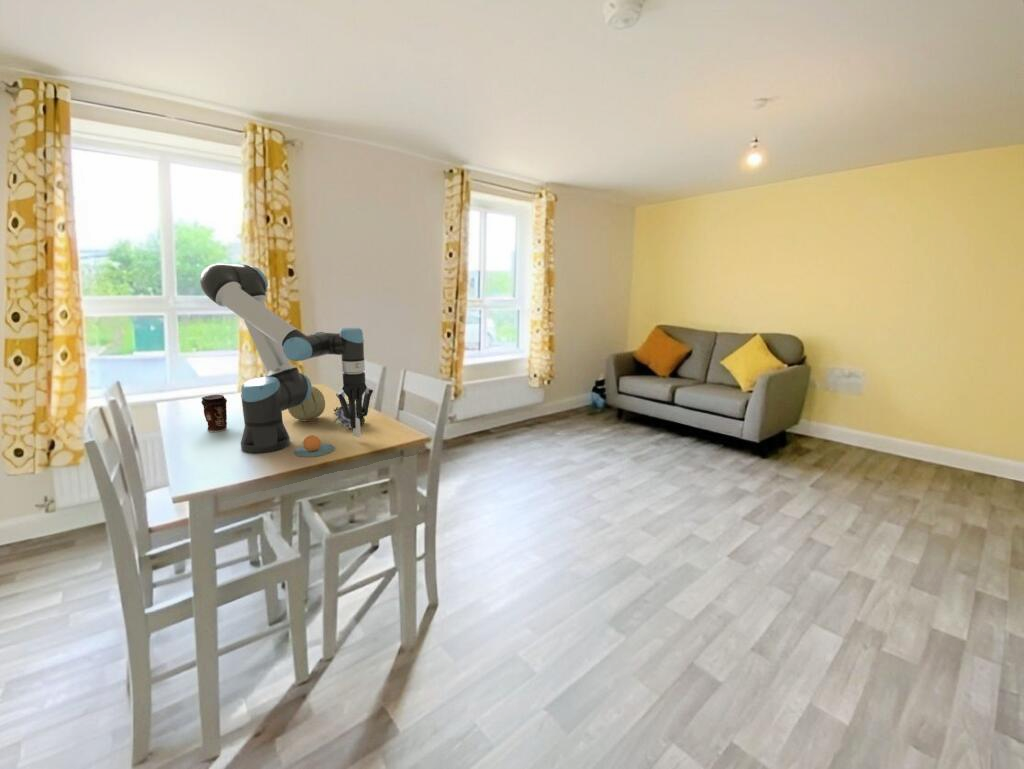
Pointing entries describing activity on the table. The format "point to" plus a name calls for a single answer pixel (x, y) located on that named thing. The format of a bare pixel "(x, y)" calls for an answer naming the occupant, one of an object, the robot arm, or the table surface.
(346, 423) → the passion flower
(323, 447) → the mark
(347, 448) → the table surface
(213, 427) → the coffee cup
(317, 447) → the ball
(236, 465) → the table surface
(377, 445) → the table surface
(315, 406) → the cantaloupe
